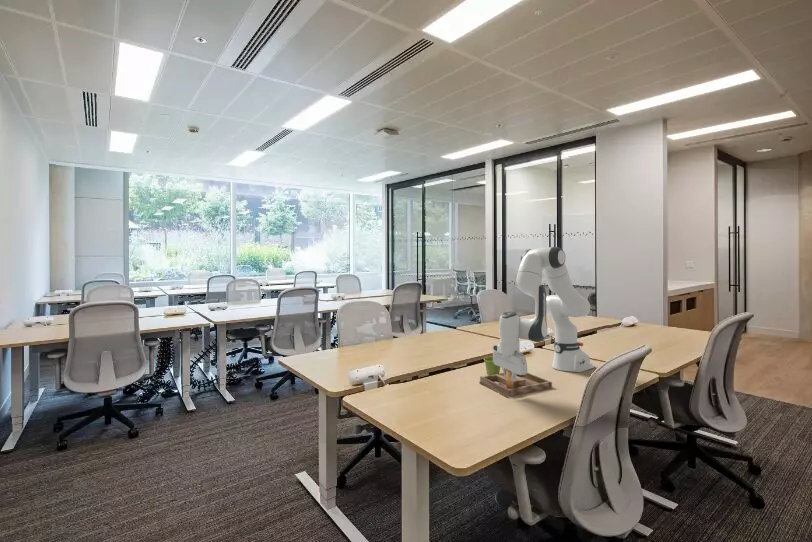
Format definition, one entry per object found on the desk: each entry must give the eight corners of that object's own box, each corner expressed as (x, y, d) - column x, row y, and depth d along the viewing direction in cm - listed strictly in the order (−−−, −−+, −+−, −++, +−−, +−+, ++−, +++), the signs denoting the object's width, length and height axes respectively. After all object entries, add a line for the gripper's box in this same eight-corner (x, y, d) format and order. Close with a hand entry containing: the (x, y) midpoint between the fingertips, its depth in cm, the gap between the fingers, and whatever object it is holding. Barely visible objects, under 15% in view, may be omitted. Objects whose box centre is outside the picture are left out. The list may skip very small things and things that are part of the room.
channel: (521, 376, 203) (521, 369, 202) (552, 389, 182) (552, 382, 182) (479, 383, 193) (479, 376, 193) (507, 398, 173) (507, 390, 172)
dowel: (510, 386, 181) (510, 368, 181) (514, 388, 178) (514, 370, 178) (505, 387, 180) (504, 369, 179) (509, 389, 177) (509, 371, 177)
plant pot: (501, 373, 208) (501, 356, 208) (503, 378, 199) (503, 361, 199) (483, 372, 209) (482, 356, 209) (484, 378, 200) (484, 361, 200)
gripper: (530, 353, 170) (531, 385, 171) (501, 343, 189) (501, 372, 189) (518, 355, 167) (519, 387, 168) (490, 345, 186) (490, 374, 187)
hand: (509, 379), depth 179 cm, fingers closed on dowel, 3 cm apart
